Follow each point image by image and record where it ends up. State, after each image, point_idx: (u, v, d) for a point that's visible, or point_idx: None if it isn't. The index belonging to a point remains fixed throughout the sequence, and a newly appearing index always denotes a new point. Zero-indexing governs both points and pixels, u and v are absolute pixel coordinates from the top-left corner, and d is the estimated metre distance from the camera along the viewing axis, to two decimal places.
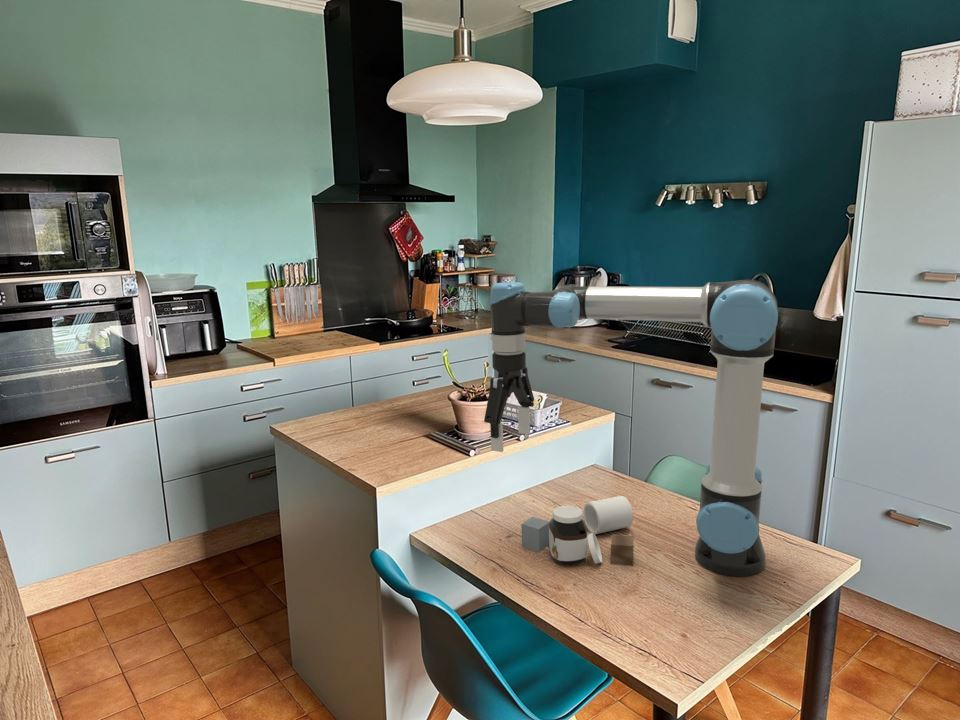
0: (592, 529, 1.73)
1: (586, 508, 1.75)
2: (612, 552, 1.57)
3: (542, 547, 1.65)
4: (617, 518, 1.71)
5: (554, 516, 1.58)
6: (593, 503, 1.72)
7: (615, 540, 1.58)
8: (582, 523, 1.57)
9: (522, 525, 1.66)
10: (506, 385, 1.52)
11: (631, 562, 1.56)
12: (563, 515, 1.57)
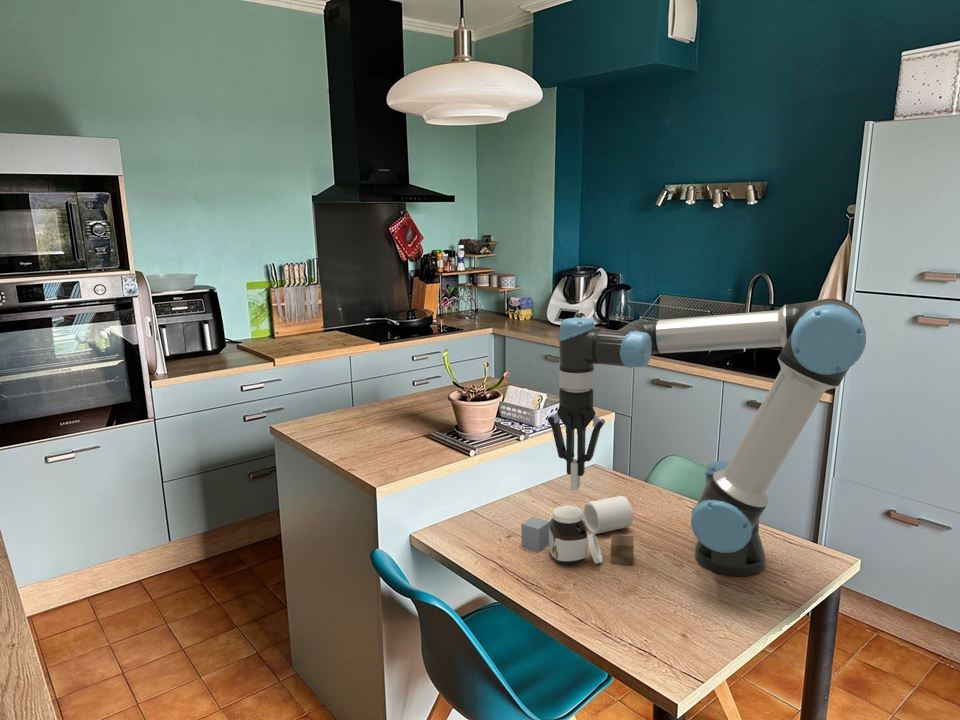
0: (592, 529, 1.73)
1: (586, 508, 1.75)
2: (612, 552, 1.57)
3: (542, 547, 1.65)
4: (617, 518, 1.71)
5: (554, 516, 1.58)
6: (593, 503, 1.72)
7: (615, 540, 1.58)
8: (582, 523, 1.57)
9: (522, 525, 1.66)
10: (560, 418, 1.54)
11: (631, 562, 1.56)
12: (563, 515, 1.57)
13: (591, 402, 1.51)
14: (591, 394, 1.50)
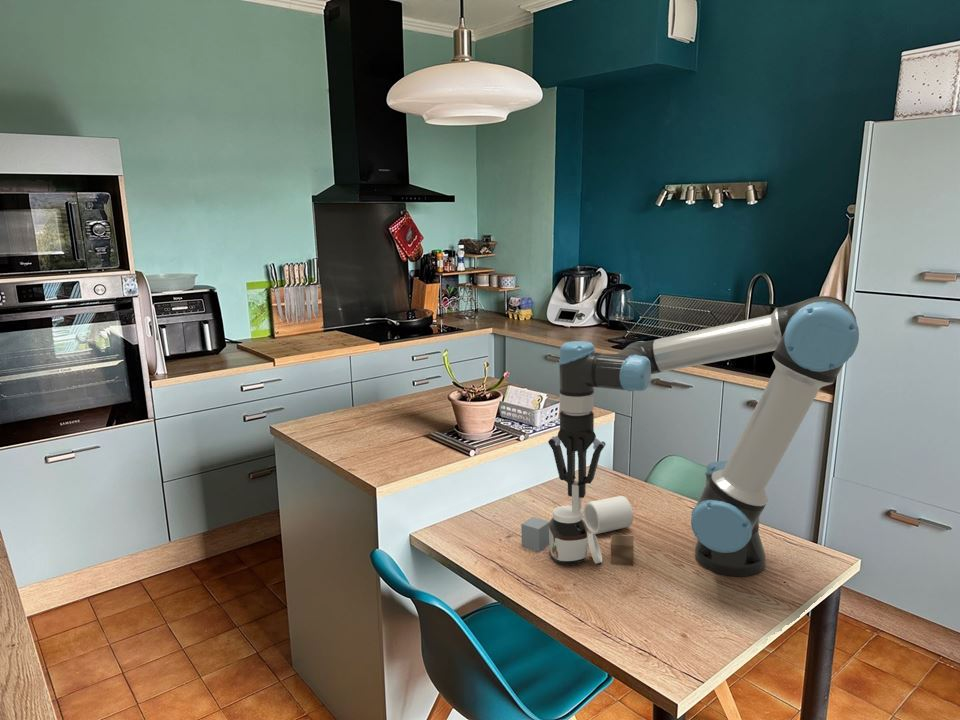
0: (592, 529, 1.73)
1: (586, 508, 1.75)
2: (612, 552, 1.57)
3: (542, 547, 1.65)
4: (617, 518, 1.71)
5: (554, 516, 1.58)
6: (593, 503, 1.72)
7: (615, 540, 1.58)
8: (582, 523, 1.57)
9: (522, 525, 1.66)
10: (561, 441, 1.55)
11: (631, 562, 1.56)
12: (563, 515, 1.57)
13: (591, 425, 1.52)
14: (591, 417, 1.51)
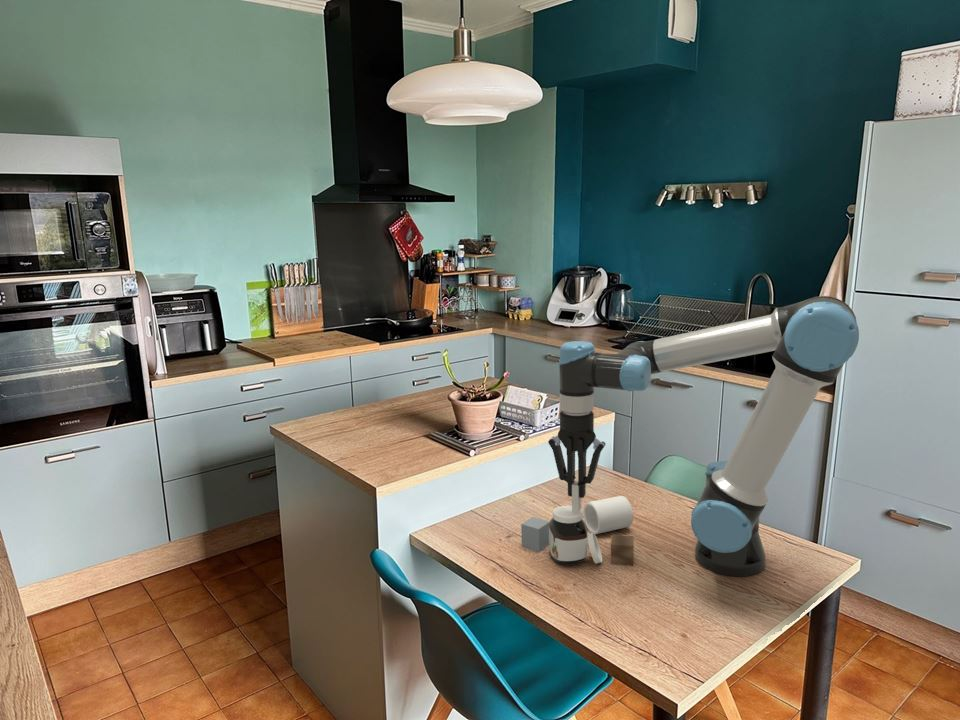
0: (592, 529, 1.73)
1: (586, 508, 1.75)
2: (612, 552, 1.57)
3: (542, 547, 1.65)
4: (617, 518, 1.71)
5: (554, 516, 1.58)
6: (593, 503, 1.72)
7: (615, 540, 1.58)
8: (582, 523, 1.57)
9: (522, 525, 1.66)
10: (561, 441, 1.55)
11: (631, 562, 1.56)
12: (563, 515, 1.57)
13: (591, 425, 1.52)
14: (591, 417, 1.51)
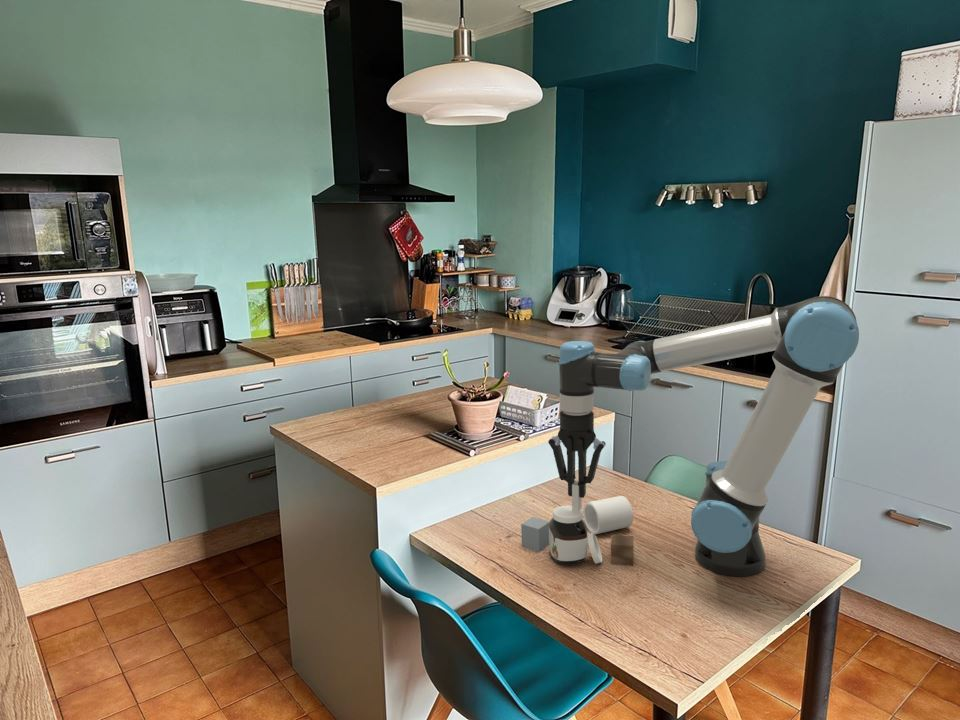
0: (592, 529, 1.73)
1: (586, 508, 1.75)
2: (612, 552, 1.57)
3: (542, 547, 1.65)
4: (617, 518, 1.71)
5: (554, 516, 1.58)
6: (593, 503, 1.72)
7: (615, 540, 1.58)
8: (582, 523, 1.57)
9: (522, 525, 1.66)
10: (561, 440, 1.55)
11: (631, 562, 1.56)
12: (563, 515, 1.57)
13: (591, 425, 1.52)
14: (591, 417, 1.51)
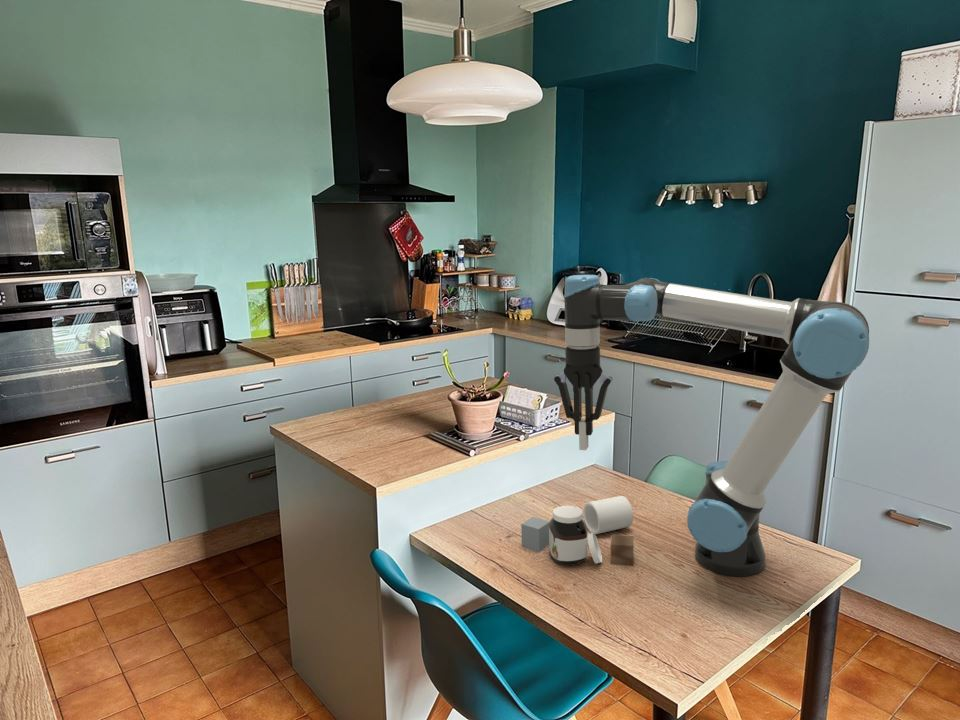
0: (592, 529, 1.73)
1: (586, 508, 1.75)
2: (612, 552, 1.57)
3: (542, 547, 1.65)
4: (617, 518, 1.71)
5: (554, 516, 1.58)
6: (593, 503, 1.72)
7: (615, 540, 1.58)
8: (582, 523, 1.57)
9: (522, 525, 1.66)
10: (567, 377, 1.53)
11: (631, 562, 1.56)
12: (563, 515, 1.57)
13: (598, 359, 1.49)
14: (598, 351, 1.49)
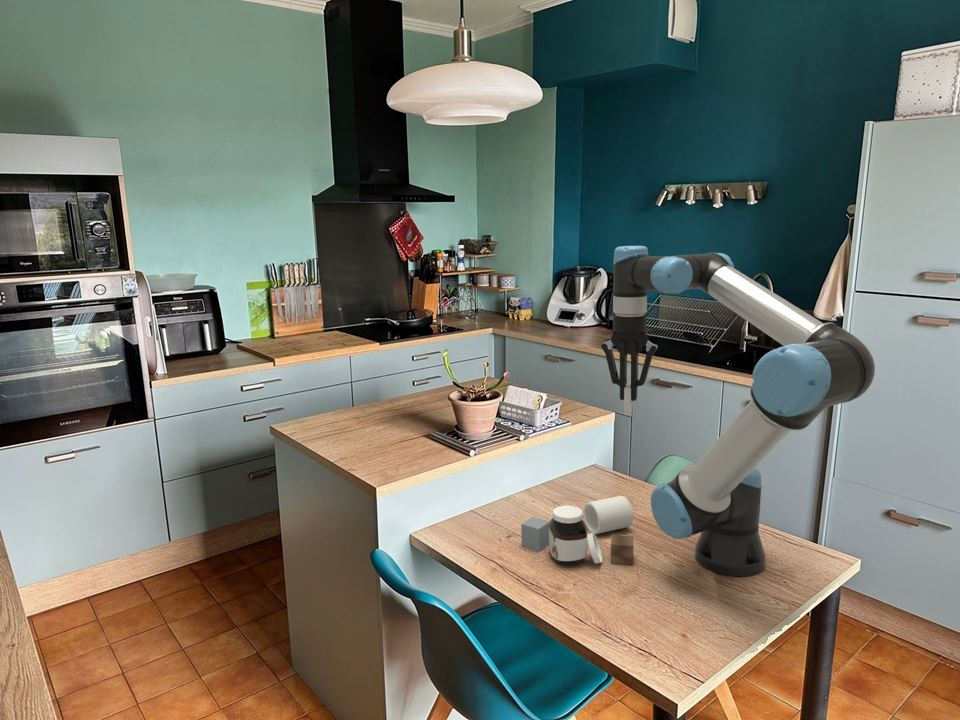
0: (592, 529, 1.73)
1: (586, 508, 1.75)
2: (612, 552, 1.57)
3: (542, 547, 1.65)
4: (617, 518, 1.71)
5: (554, 516, 1.58)
6: (593, 503, 1.72)
7: (615, 540, 1.58)
8: (582, 523, 1.57)
9: (522, 525, 1.66)
10: (614, 344, 1.59)
11: (631, 562, 1.56)
12: (563, 515, 1.57)
13: (645, 327, 1.56)
14: (645, 319, 1.55)
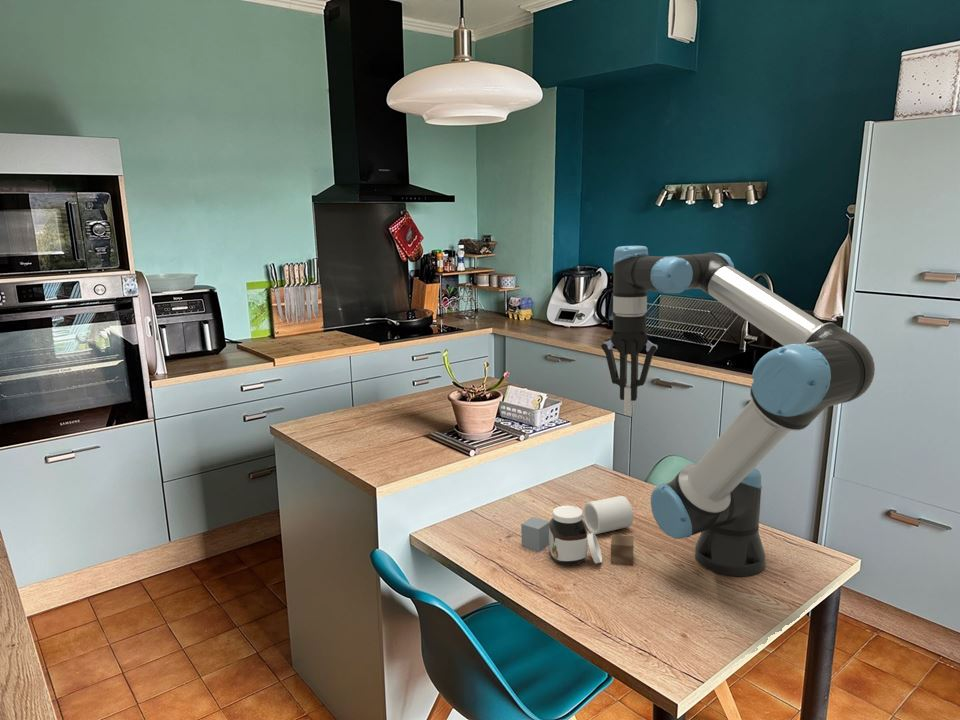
0: (592, 529, 1.73)
1: (586, 508, 1.75)
2: (612, 552, 1.57)
3: (542, 547, 1.65)
4: (617, 518, 1.71)
5: (554, 516, 1.58)
6: (593, 503, 1.72)
7: (615, 540, 1.58)
8: (582, 523, 1.57)
9: (522, 525, 1.66)
10: (614, 344, 1.59)
11: (631, 562, 1.56)
12: (563, 515, 1.56)
13: (645, 327, 1.56)
14: (645, 319, 1.55)
